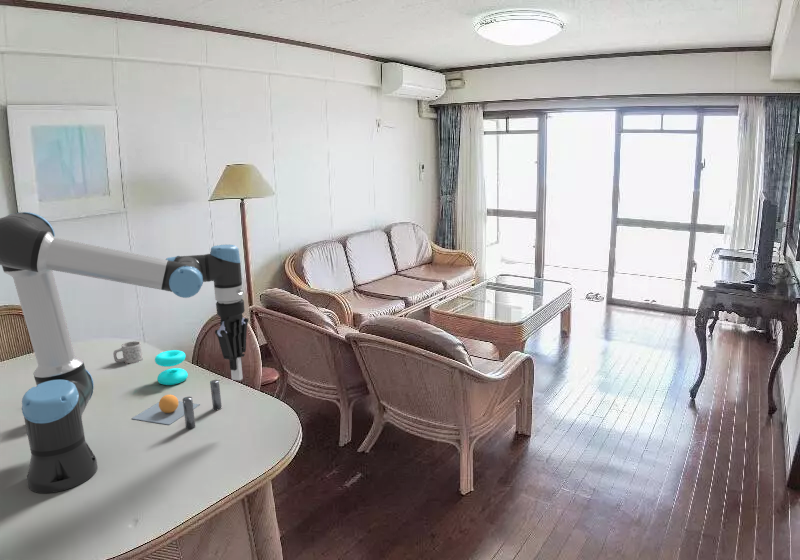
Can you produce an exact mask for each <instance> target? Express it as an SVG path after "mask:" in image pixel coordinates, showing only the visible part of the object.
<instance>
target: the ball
mask: <svg viewBox="0 0 800 560" xmlns="http://www.w3.org/2000/svg"><path fill="white" fill-rule="evenodd" d="M178 401H179V400H178V397H177V396H175V395H173V394H165V395H163V396H162V397H160V400H159V401H158V402H159V408H160V410H161V411H163V412H164V413H171V412H174V411H175V410H176V409H177V407H178Z"/></svg>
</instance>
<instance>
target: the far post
mask: <svg viewBox="0 0 800 560" xmlns="http://www.w3.org/2000/svg"><path fill="white" fill-rule="evenodd" d="M209 383H210V384H209V385H210V393H211V402H212V410H213V409H214V410H213V411H218V410H217V409H220V408H221V407H222V397H221V388H220V386H221V385H220V381H219V379H212V380H211V381H210V382H209ZM222 408H223V407H222ZM222 408H221V409H222ZM221 409H220V410H221Z"/></svg>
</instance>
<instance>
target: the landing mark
mask: <svg viewBox="0 0 800 560" xmlns="http://www.w3.org/2000/svg"><path fill="white" fill-rule="evenodd" d="M200 405H201V404H200V403H193V410H194V409H196V408H197V406H198V407H199V406H200ZM182 417H185V416H184V407H183V401H179V400H178V407H177V409H176V410H175V411H174V412H171V413H164V412H163V411H161V410H160V408H159V401H158V402H157V403H155V404H154V405H151V406H150V407H148V408H147V409H145V410H143V411H142V412H140V413H137V414H136V415H135V416H133V417H131V418H130V419H131V420H136V421H141V422H148V423H153V424H154V423H155V424H160V425H168V426H170V425H172V424H174V423H175V422H176V421H178V420H179V419H181V418H182Z"/></svg>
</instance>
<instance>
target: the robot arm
mask: <svg viewBox="0 0 800 560" xmlns="http://www.w3.org/2000/svg"><path fill="white" fill-rule="evenodd" d="M241 265H242V264H241V257H240V249H239V248H238V246H237V245H235V244H219V245H218V244H217V245H214V246H212V247H211V248H210V251H209V253H206V254H192V255H181V256H180V255H176V256H171V257H167V258H166V259H163V258H160V257H159V258H158V257H155V256H154V257H153V256H149V255H144V254H139V253H134V252H129V251H125V250H124V251H123V250H119V249H113V248H109V247H104V246H99V245H94V244H88V243H84V242H79V241H73V240H69V239H64V238H59V237H56V234H55V230H54V228H53V226H52V224H51V223H50V222H49V220H47V219H46V218H44V216H41V214H37V213H34V212H27V211H26V212H25V211H24V212H23V211H22V212H21V211H19V212H18V211H17V212H14V213H9V214H8V215H6V216H3V217H0V266H1V267H2V270H3V273H5V274H7V275H9V276H10V277H12V278H13V279H12V280H13V282H14V286H15V289H16V293H17V296H18V300H19V303H20V308H21V312H22V314H23V317H24V320H25V324H26V327H27V331H28V334H29V339H30V342H31V345H32V348H33V352H34V353H33V354H34V356H35V359H36V363H37V367H36V369H35V370H34V372H32V373H33V378H34V380H35V385H36V386H32V387H31V388H29V389H28V390H27V391H26V392H25V393H24V394H23V396H22V399H21V413H22V416H23V419H24V423H25V428H26V429H25V430H26V434H27V438H28V439H27V440H28V445H29V448H30V449H29V450H30V454H31V455H30V461H29V467H28V471H27V475H26V480H27V481H26V482H27V487H28V488H29V490H31V491H32V492H34V493H39V494H50V493H58V492H62V491H66V490H69V489H72V488H74V487H78V486H79V485H81V484H83V483H85V482H86V481H87V482H88V481H89V479H91V478H92V477H93V476H95V474H96V473H97V471H98V468H99V467H98V459H97V457H96V456H95V454H94V453H93V450H92V449H91V448H90V446H89V443H87V440H86V438H85V431H84V425H83V414H84V412H85V409H86V408H87V406H88V405H89V401H91V398H92V396H93V393H94V389H95V388H94V379H93V376H92V375H91V373H90V372H89V370H88V369H86V367H85V363H84V360H83V359H82V358H80V357H78V356H77V355H76V354H75V350H74V346H73V343H72V339H71V336H70V335H71V334H70V331H69V327H68V324H67V320H66V317H65V312H64V309H63V306H62V302H61V297H60V294H59V289H58V286H57V282H56V279H55V274H54V272H53V271H56V272H61V273H65V274H72V275H77V276H84V277H88V278H94V279H99V280H105V281H110V282H115V283H121V284H127V285H128V284H129V285H132V286H138V287H143V288H144V287H145V288H149V289H155V290H162V291H166V292H171V293H173V294H174V295H175V296H177V297H179V298H184V299H188V298H191V297H194V296H196V295H197V294H198V293H199V292H200V291H201V289H202V286H203V283H206V282H208V283H209V282H210V283H211V282H213V285H214V286H213V287H214V290H213V291H214V299H215V301H216V303H215V307H216V314H217V316H219V317H220V322H219V324H220V325H219V327H218V328H219V329H215V330H214V333H215V335H216V337H217V339H218V342H219V347H220V349H221V353H222V356H223V360H229V368H230V375H231V376H230V377H231V380H232V381H233V380H234V381H242V380H243V379H244V377H243V368H242V367H243V363H242V357H245V356H246V355H245V352H247V351H246V350H247V333H248V332H247V331H248V324H249V318H248V317H247V318H246V317H243V314H244V313H245V301H244V300H243V299H244V293H243V292H244V291H243V280H242V279H243V278H242V266H241Z"/></svg>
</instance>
